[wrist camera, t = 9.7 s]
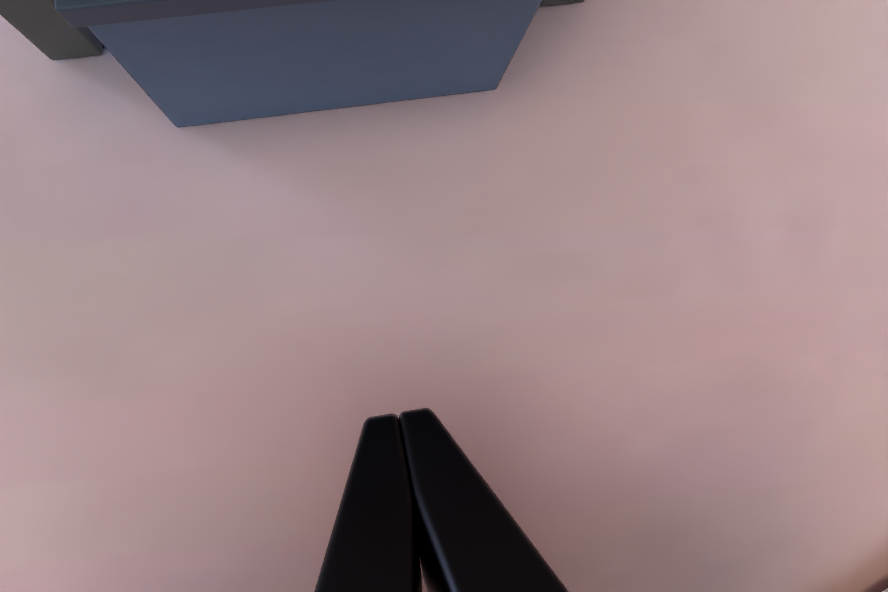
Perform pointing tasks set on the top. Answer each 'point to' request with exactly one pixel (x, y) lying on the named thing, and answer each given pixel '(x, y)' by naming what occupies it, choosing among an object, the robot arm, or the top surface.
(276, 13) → the storage box
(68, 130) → the top surface
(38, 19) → the drawer unit
